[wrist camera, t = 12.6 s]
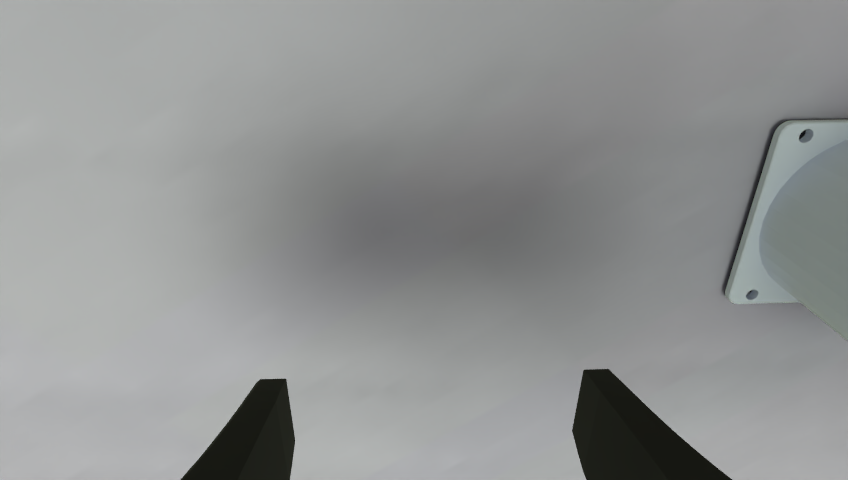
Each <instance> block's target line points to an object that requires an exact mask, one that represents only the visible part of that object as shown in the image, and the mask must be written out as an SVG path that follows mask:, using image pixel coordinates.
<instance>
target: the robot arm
mask: <svg viewBox="0 0 848 480" xmlns="http://www.w3.org/2000/svg"><path fill="white" fill-rule="evenodd" d="M804 130H806V133H805V135H804V137H802V138H801V139H799V136H800V134H801V132H803V131H804ZM751 290H752V292H751V293H749V294H747V293H748V292H749V291H751ZM725 296H726V298H727V299H728V300H729V301H730V302H732V303H733V304H760V303H793V302H800V303H802V304H803V305H804V306H805V307H807V308H808V309H809V310H810V311H811V312H813V313H814V314H815V315H816V316H817V317H819V318H820V319H821V320H822V321H824V322H825V323H826V324H827V325H828V326H830V327H831V328H832V329H833V330H834V331H836V332H837V333H838V334H839V335H841V336H842V337H843V338H844V339H845V340H847V341H848V120H790V121H786V122H784V123H782V124H781V125H780V126H779V127H778V128H777V129H776V131H775V133H774V135H773V138H772V142H771V145H770V148H769V151H768V155H767V158H766V161H765V164H764V168H763V171H762V174H761V177H760V180H759V184H758V187H757V190H756V193H755V197H754V200H753V203H752V206H751V209H750V213H749V216H748V219H747V222H746V226H745V229H744V232H743V235H742V238H741V242H740V245H739V248H738V251H737V255H736V258H735V261H734V264H733V267H732V271H731V274H730V277H729V280H728V284H727V287H726V290H725ZM572 432H573V435H574V439H575V443H576V447H577V451H578V455H579V458H580V462H581V465H582V469H583V472H584V474H585V477H586V479H587V480H732V479H731V478H729V477H728V476H727V475H725V474H724V473H723V472H722V471H720V470H719V469H718V468H716V467H715V466H714V465H713V464H712V463H710V462H709V461H708V460H707V459H706V458H704V457H703V456H702V455H701V454H700V453H698V452H697V451H696V450H695V449H693V448H692V447H691V446H690V445H689V444H688V443H687V442H685V441H684V440H683V439H682V438H681V437H680V436H679V435H677V434H676V433H675V432H674V431H673V430H672V429H671V428H670V427H669V426H667V425H666V424H665V423H664V422H663V421H662V420H661V419H660V418H659V417H658V416H657V415H656V414H654V413H653V412H652V411H651V410H650V409H649V408H648V407H647V406H646V405H645V404H644V403H643V402H642V401H641V400H640V399H639V398H638V397H637V396H636V395H635V394H634V393H633V392H632V391H631V390H629V389H628V388H627V387H626V386H625V385H624V384H623V383H622V382H621V381H620V380H619V379H618V378H617V377H616V376H615V375H614V374H613V373H612V372H611V371H610V370H609V369H595V370H584V371H583V376H582V382H581V387H580V392H579V397H578V403H577V408H576V413H575V419H574V424H573V429H572ZM294 445H295V437H294V430H293V423H292V416H291V409H290V403H289V396H288V389H287V382H286V379H260V380H259V381H258V382H257V383H256V384H255V386H254V387H253V388H252V390H251V391H250V393H249V394H248V396H247V397H246V398H245V400H244V401H243V403H242V404H241V405H240V407H239V408H238V409H237V411H236V412H235V414H234V415H233V416H232V418H231V419H230V420H229V422H228V423H227V424H226V426H225V427H224V428H223V429H222V431H221V432H220V433H219V434H218V436H217V437H216V438H215V440H214V441H213V442H212V443H211V445H210V446H209V447H208V448H207V450H206V451H205V452H204V453H203V454H202V456H201V457H200V458H199V459H198V460H197V462H196V463H195V464H194V465H193V466H192V467H191V468H190V470H189V471H188V472H187V473H186V474H185V475H184V476H183V478H182V479H181V480H290V474H291V467H292V460H293V452H294Z"/></svg>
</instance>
